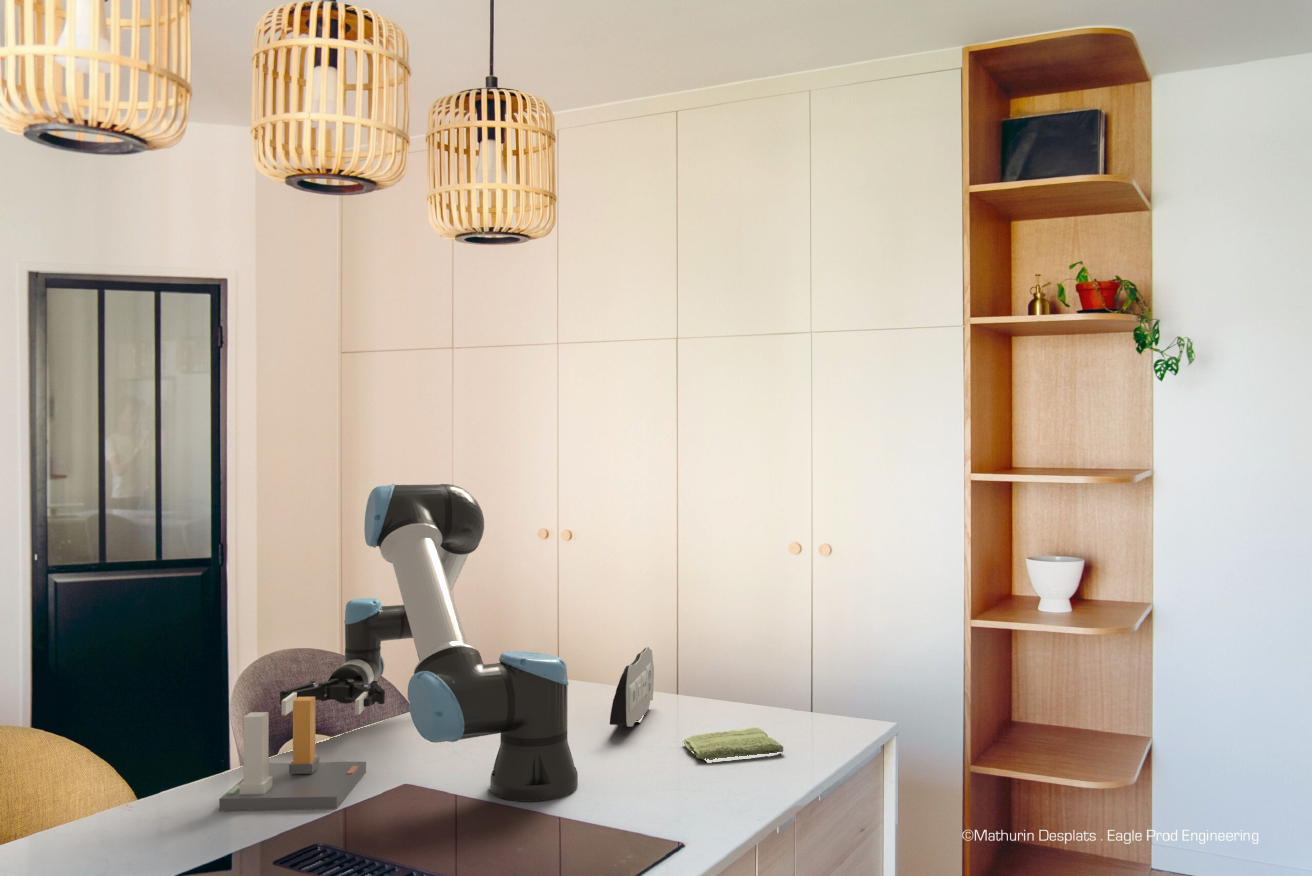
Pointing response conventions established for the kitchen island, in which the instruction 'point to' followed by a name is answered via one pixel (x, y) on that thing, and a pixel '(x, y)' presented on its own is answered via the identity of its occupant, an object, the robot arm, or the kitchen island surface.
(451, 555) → the robot arm
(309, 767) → the breaker handle
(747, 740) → the washcloth
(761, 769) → the kitchen island surface
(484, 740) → the kitchen island surface
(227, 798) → the grey base with post
